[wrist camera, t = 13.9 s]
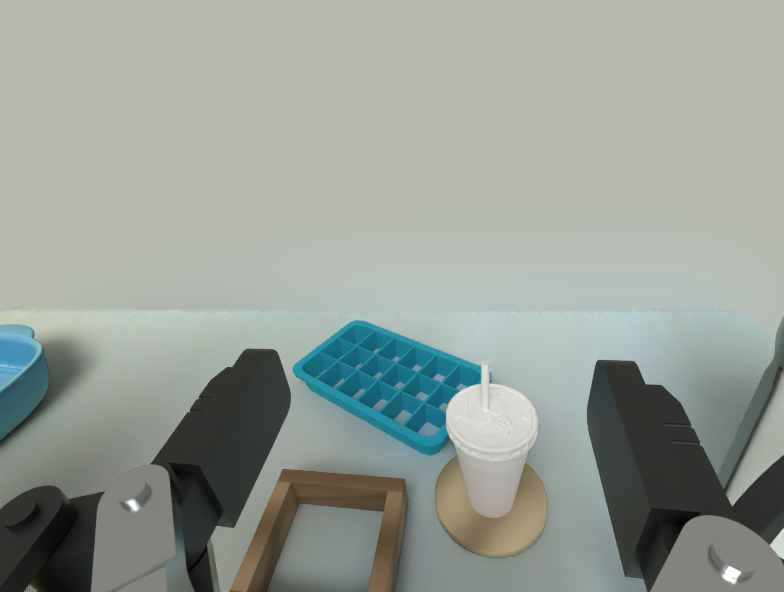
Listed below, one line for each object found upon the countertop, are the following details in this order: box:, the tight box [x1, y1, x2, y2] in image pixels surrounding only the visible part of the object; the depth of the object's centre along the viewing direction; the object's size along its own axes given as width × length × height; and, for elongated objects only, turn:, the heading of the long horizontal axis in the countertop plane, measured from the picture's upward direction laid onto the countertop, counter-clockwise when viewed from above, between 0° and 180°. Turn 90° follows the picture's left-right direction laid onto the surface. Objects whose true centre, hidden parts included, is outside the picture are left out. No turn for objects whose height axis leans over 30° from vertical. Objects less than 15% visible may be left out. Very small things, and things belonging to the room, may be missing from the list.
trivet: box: [435, 456, 548, 558], centre depth 36 cm, size 9×9×1 cm
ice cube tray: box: [293, 320, 491, 455], centre depth 48 cm, size 12×20×3 cm, turn 51°
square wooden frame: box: [230, 469, 408, 592], centre depth 33 cm, size 11×11×3 cm
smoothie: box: [446, 360, 538, 518], centre depth 32 cm, size 6×6×14 cm
